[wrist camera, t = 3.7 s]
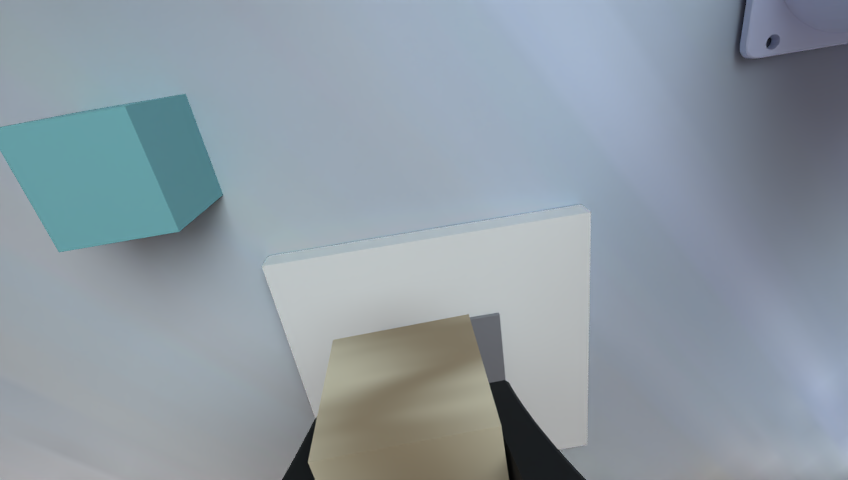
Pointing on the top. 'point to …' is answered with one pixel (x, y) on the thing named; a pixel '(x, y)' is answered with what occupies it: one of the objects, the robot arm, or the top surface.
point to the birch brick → (408, 408)
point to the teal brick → (113, 171)
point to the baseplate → (458, 303)
